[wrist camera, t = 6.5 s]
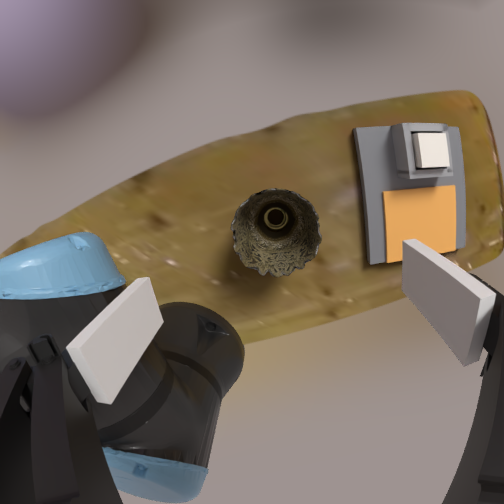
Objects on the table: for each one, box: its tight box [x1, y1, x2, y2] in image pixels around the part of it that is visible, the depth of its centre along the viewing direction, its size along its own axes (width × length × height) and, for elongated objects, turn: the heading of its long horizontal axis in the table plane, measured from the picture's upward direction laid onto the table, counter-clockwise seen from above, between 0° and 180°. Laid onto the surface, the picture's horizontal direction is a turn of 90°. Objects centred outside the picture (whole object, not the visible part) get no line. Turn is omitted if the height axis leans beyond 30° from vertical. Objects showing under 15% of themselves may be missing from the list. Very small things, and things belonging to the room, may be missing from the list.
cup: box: [231, 188, 322, 277], centre depth 27 cm, size 8×7×8 cm
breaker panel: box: [353, 123, 466, 265], centre depth 26 cm, size 14×15×4 cm
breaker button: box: [411, 133, 450, 168], centre depth 23 cm, size 4×3×3 cm
